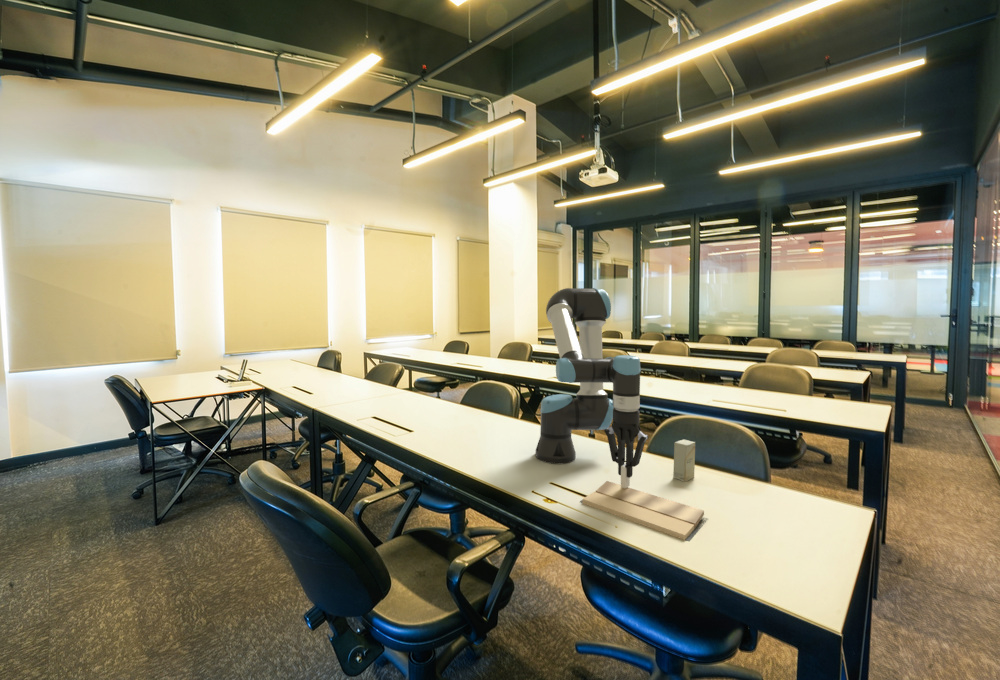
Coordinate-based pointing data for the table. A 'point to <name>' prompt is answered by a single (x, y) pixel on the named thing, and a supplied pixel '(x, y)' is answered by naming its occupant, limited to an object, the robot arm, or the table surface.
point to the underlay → (642, 516)
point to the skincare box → (684, 460)
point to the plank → (652, 503)
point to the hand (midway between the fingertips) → (625, 486)
